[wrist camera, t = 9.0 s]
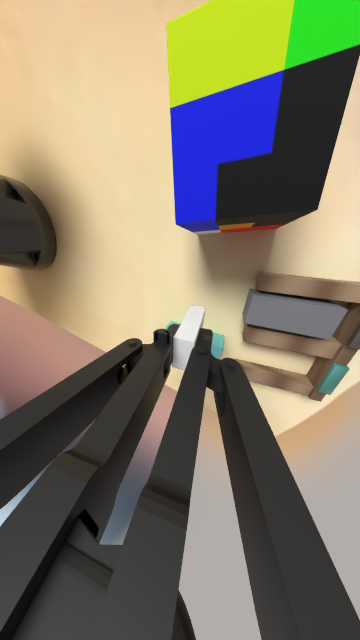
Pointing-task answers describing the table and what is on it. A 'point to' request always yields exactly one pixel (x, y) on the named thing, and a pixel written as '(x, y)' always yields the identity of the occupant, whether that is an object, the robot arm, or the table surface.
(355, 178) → the table surface
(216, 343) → the teal block
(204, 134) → the puzzle toy
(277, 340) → the comb rack
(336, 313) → the grey block
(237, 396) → the robot arm
